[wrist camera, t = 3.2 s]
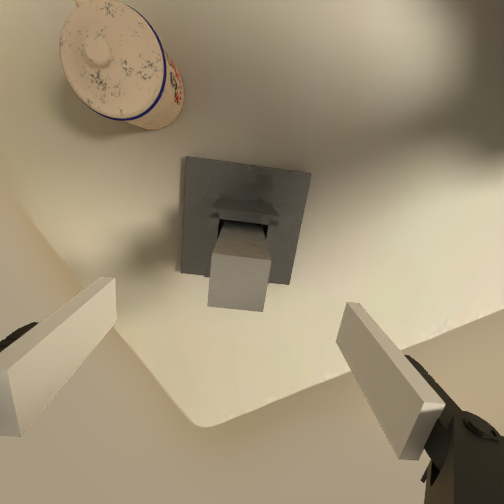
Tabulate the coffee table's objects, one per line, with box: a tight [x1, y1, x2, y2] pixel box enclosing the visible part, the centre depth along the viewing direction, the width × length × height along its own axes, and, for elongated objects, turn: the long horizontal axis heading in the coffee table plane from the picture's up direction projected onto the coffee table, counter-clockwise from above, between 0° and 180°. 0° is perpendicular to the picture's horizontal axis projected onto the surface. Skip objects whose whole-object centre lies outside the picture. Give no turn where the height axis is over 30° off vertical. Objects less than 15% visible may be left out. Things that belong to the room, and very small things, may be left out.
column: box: [207, 219, 271, 312], centre depth 26 cm, size 5×4×18 cm
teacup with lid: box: [60, 0, 184, 130], centre depth 25 cm, size 12×9×12 cm
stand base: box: [181, 156, 311, 285], centre depth 31 cm, size 16×16×10 cm
